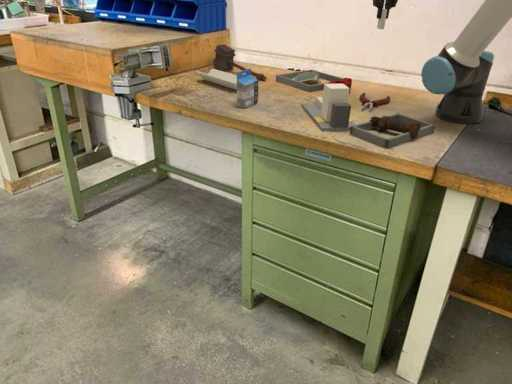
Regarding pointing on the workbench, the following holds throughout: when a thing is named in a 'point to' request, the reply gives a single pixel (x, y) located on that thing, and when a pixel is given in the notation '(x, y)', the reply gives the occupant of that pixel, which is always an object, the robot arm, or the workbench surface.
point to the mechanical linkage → (343, 82)
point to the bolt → (396, 125)
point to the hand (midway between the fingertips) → (380, 28)
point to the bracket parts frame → (309, 88)
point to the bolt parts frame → (361, 132)
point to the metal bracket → (307, 76)
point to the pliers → (372, 102)
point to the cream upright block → (333, 98)
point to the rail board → (317, 113)
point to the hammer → (230, 61)
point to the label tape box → (246, 89)
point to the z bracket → (220, 78)
